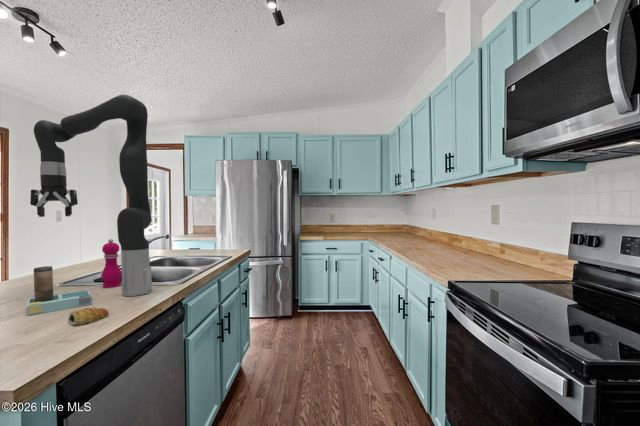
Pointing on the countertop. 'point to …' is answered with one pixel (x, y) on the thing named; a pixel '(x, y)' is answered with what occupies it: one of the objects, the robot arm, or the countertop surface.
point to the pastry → (87, 315)
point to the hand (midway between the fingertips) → (55, 216)
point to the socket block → (59, 302)
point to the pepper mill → (111, 265)
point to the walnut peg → (43, 284)
